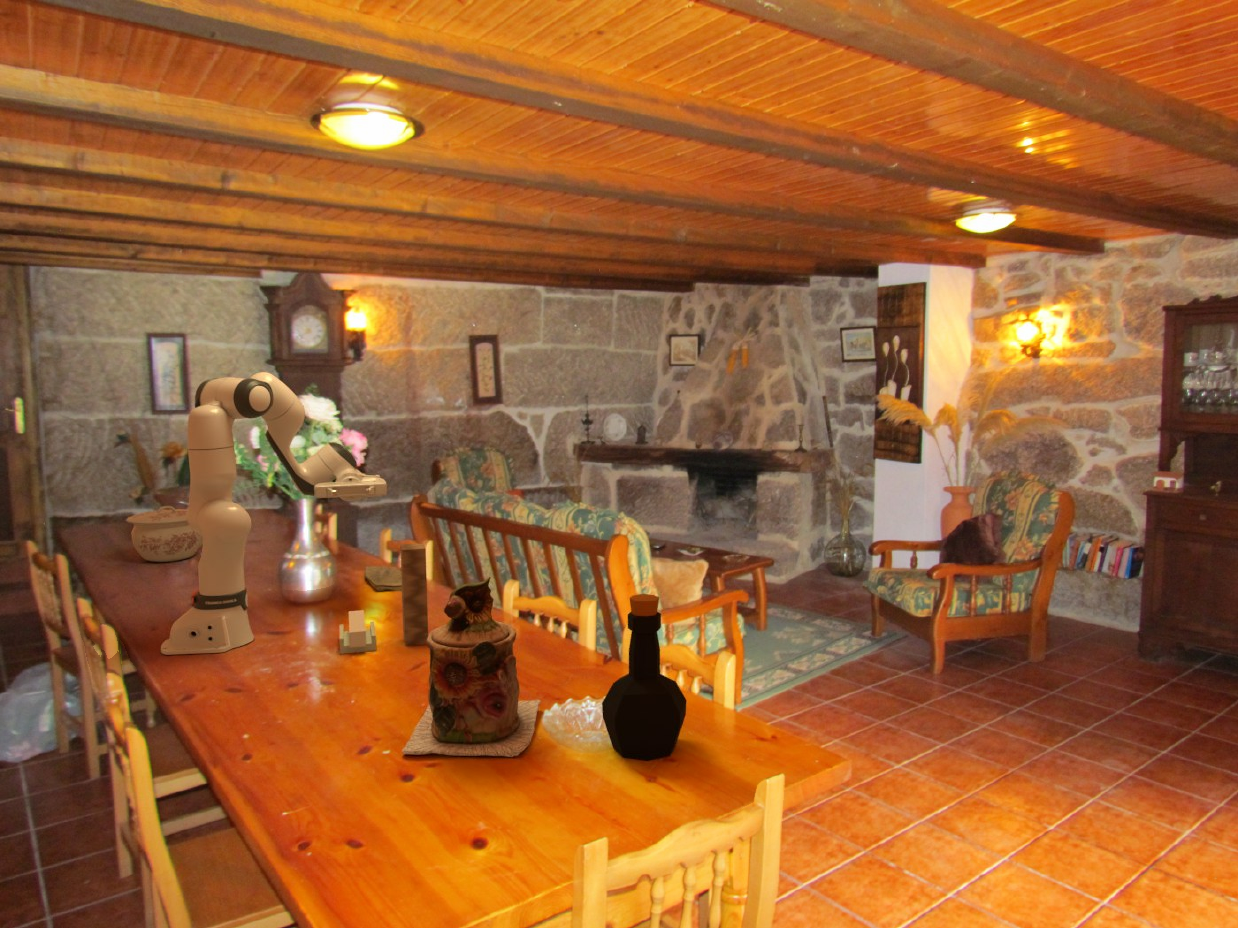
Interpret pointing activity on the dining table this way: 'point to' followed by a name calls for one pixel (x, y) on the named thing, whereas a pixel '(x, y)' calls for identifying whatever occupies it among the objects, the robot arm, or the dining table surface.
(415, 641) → the plinth
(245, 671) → the dining table surface
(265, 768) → the dining table surface
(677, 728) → the bottle
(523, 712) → the cookie jar
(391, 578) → the stone slab
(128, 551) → the dining table surface
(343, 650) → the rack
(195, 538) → the chamber pot
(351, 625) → the beige rectangular bar
